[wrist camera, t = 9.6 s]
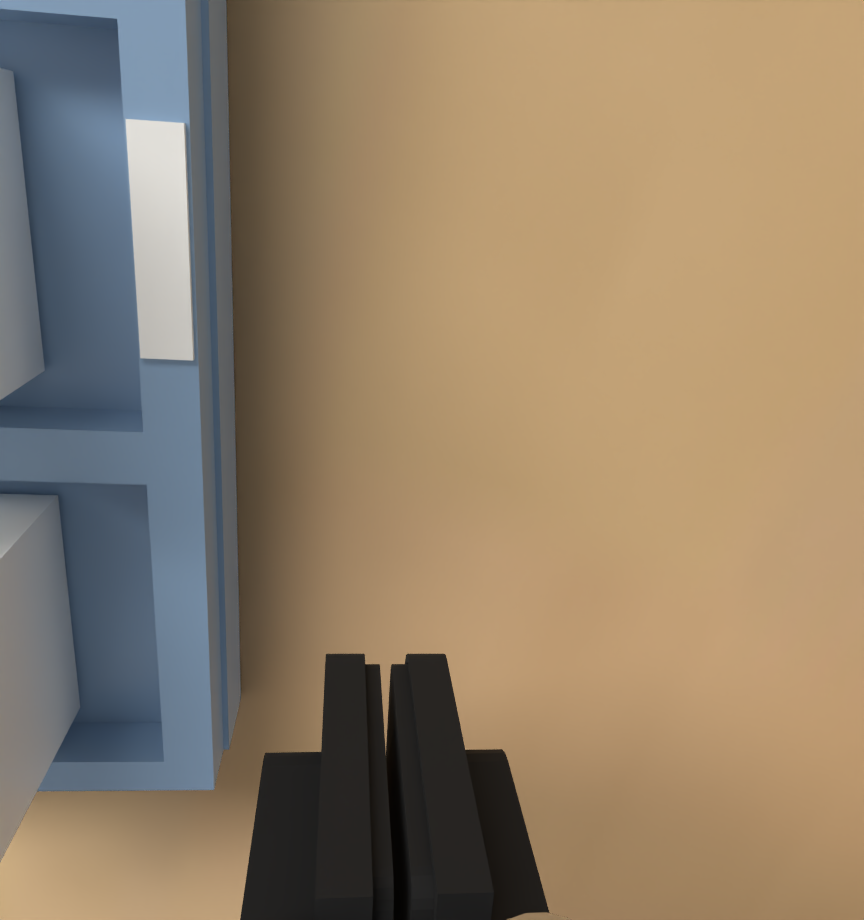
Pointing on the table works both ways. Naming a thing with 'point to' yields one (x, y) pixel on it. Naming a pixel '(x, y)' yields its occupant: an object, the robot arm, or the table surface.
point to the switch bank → (133, 375)
